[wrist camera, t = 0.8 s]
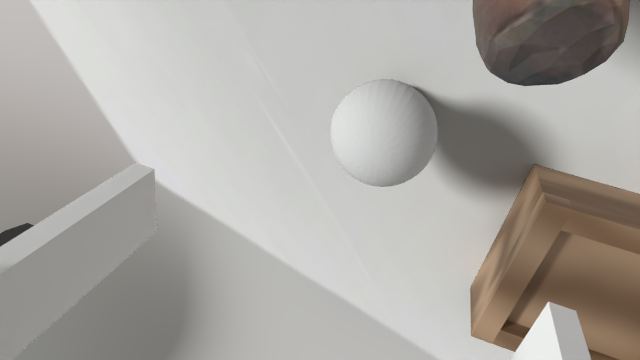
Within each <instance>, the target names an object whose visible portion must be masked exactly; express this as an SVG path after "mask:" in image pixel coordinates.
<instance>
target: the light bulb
mask: <svg viewBox="0 0 640 360" xmlns="http://www.w3.org/2000/svg"><path fill="white" fill-rule="evenodd" d="M437 137H438V127H437V121H436V117H435V114H434V111H433V109H432V107H431V105H430V104H429V102H428V101H427V99H426V98H425V97H424V96H423V95H422V94H421V93H420V92H419V91H417V90H416V89H415V88H413V87H411V86H410V85H408V84H405V83H402V82H400V81H395V80H384V79H382V80H374V81H371V82H367V83H365V84H362V85H360V86H358V87H357V88H355V89H354V90H352V91H351V92H350V93H349V94H348V95H347V96H346V97H345V98H344V99H343V100H342V101H341V103H340V104H339V105H338V107H337V109H336V111H335V113H334V116H333V119H332V123H331V130H330V138H331V145H332V149H333V152H334V155H335V157H336V159H337V161H338V162H339V164H340V165H341V166H342V168H343V169H344V170H345V171H346V172H347V173H348V174H349V175H351V176H352V177H353V178H355V179H357V180H358V181H360V182H363V183H365V184H368V185H372V186H380V187H384V186H393V185H398V184H401V183H404V182H406V181H408V180H410V179H412V178H413V177H415V176H416V175H417V174H419V173H420V172H421V171H422V170H423V169H424V168H425V166H426V165H427V164H428V162H429V161H430V159H431V157H432V155H433V153H434V151H435V147H436V144H437Z"/></svg>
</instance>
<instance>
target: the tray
mask: <svg viewBox="0 0 640 360" xmlns="http://www.w3.org/2000/svg"><path fill="white" fill-rule="evenodd" d="M470 292H471V336H473V337H475V338H478V339H481V340H484V341H486V342H489V343H492V344H495V345H497V346H500V347H503V348H506V349H509V350H511V351H514V352H516V350H517V349H518V347H519V346H520V344H521V342H522V341H523V339H524V338H525V336H526V335H527V333H528V332H529V330H530V329H531V327H532V326H533V324H534V323H535V321H536V320H537V318H538V317H539V315H540V314H541V312H542V311H543V309H544V308H545V306H546V305H547V303H548V302H551V303H554V304H557V305H560V306H563V307H566V308H569V309H572V310H575V311H576V312H577V316H578V319H579V322H580V325H581V328H582V332H583V335H584V338H585V341H586V344H587V348H588V351H589V354H590V357H591V360H640V194H637V193H633V192H630V191H626V190H623V189H619V188H616V187H612V186H609V185H605V184H602V183H598V182H595V181H591V180H588V179H584V178H581V177H577V176H574V175H570V174H567V173H563V172H560V171H556V170H553V169H549V168H546V167H542V166H539V165H535V164H534V165H533V167H532V169H531V171H530V173H529V174H528V176H527V178H526V180H525V182H524V184H523V186H522V188H521V190H520V192H519V194H518V196H517V198H516V200H515V202H514V204H513V206H512V208H511V210H510V212H509V214H508V216H507V217H506V219H505V221H504V223H503V225H502V227H501V229H500V231H499V233H498V235H497V237H496V239H495V241H494V243H493V245H492V247H491V249H490V251H489V253H488V255H487V257H486V259H485V260H484V262H483V264H482V266H481V268H480V270H479V272H478V274H477V276H476V278H475V280H474V282H473V284H472V286H471V288H470Z"/></svg>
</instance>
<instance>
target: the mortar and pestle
mask: <svg viewBox="0 0 640 360" xmlns="http://www.w3.org/2000/svg"><path fill="white" fill-rule="evenodd" d="M629 5H630V0H473V18H474V26H475V34H476V45H477V47H478V50H479V53H480V55H481V58H482V60H483V62H484V64H485V66H486V67H487V69H488V70H489V71H490V72H491V73H492V74H494V75H496V76H497V77H499V78H501V79H502V80H504V81H506V82H507V83H512V84H517V85H522V86H532V85H551V84H560V83H563V82H566V81H569V80H572V79H574V78H577V77H579V76H581V75H584V74H586V73H587V72H589V71H590V70H592V69H594V68H595V67H597V66H599V65H600V64H602V63H604V62H605V61H606V60H607V59H608V58H609V57H610V56H611V55H612V54H613V53H614V51H615V50H616V49H617V48H618V47H619V46H620V45H621V44H622V42H623V41H624V38H625V33H626V29H627V25H628V20H629Z"/></svg>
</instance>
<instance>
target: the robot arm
mask: <svg viewBox="0 0 640 360" xmlns="http://www.w3.org/2000/svg"><path fill="white" fill-rule="evenodd" d="M156 231H157V228H156V203H155V175H154V169H152V168H149V167H146V166H143V165H140V164H137V163H134V164H132V165H131V166H129V167H128V168H126V169H124V170H123V171H121V172H120V173H118V174H116V175H115V176H113V177H112V178H110V179H108V180H107V181H105V182H103V183H102V184H100V185H99V186H97V187H96V188H94V189H92V190H91V191H89V192H88V193H86V194H84V195H83V196H81V197H79V198H78V199H76V200H75V201H73V202H72V203H70V204H68V205H67V206H65V207H64V208H62V209H60V210H59V211H57V212H55V213H54V214H52V215H50V216H49V217H48V218H46V219H44V220H42V221H41V222H39V223H38V224H36V225H35V226H34V225H31V224H29V223H26V224H23V225H20V226H18V227H15V228H12V229H9V230H6V231H4V232H2V233H1V234H0V360H12V359H14V358H15V357H16V356H17V355H18V354H19V353H21V351H23V350H24V349H25V348H26V347H27V346H28V345H30V344H31V343H32V342H33V341H34V340H35V339H36V338H37V337H39V336H40V335H41V334H42V333H43V332H44V331H45V330H46V329H47V328H49V327H50V326H51V325H52V324H53V323H54V322H55V321H57V320H58V319H59V318H60V317H61V316H62V315H63V314H64V313H65V312H67V311H68V310H69V309H70V308H71V307H72V306H73V305H75V304H76V303H77V302H78V301H79V300H80V299H81V298H82V297H84V296H85V295H86V294H87V293H88V292H89V291H90V290H91V289H92V288H94V287H95V286H96V285H97V284H98V283H99V282H100V281H102V280H103V279H104V278H105V277H106V276H107V275H108V274H109V273H111V272H112V271H113V270H114V269H115V268H116V267H117V266H118V265H119V264H121V263H122V262H123V261H124V260H125V259H126V258H127V257H128V256H130V254H132V253H133V252H134V251H135V250H136V249H138V248H139V247H140V246H141V245H142V244H143V243H144V242H145V241H147V239H149V238H150V237H151V236H152V235H153V234H154V233H155V232H156ZM510 360H591V357H590V354H589V351H588V348H587V344H586V341H585V338H584V335H583V332H582V328H581V325H580V322H579V319H578V316H577V312H576V311H575V310H572V309H569V308H566V307H563V306H560V305H557V304H554V303H551V302H548V303H547V305H546V306H545V308H544V309H543V311H542V312H541V314H540V315H539V317H538V318H537V320H536V321H535V323H534V324H533V326H532V327H531V329H530V330H529V332H528V333H527V335H526V336H525V338H524V339H523V341H522V342H521V344H520V346H519V347H518V349H517V350H516V352H515V353H514V355H513V356H512V358H511V359H510Z"/></svg>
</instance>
